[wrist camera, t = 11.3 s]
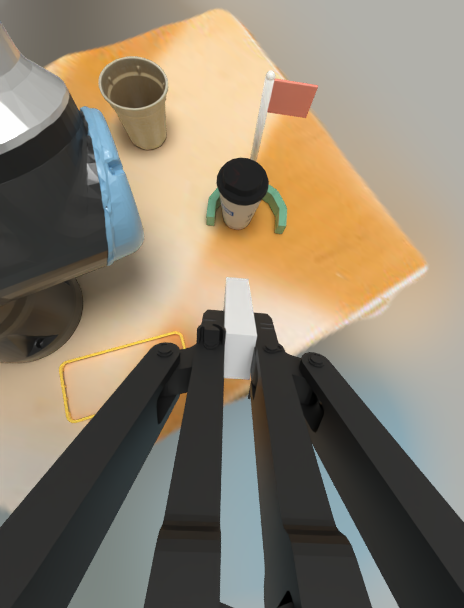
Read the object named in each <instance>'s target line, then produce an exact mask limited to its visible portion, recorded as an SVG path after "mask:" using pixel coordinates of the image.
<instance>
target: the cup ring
mask: <svg viewBox="0 0 464 608" xmlns="http://www.w3.org/2000/svg"><path fill="white" fill-rule="evenodd" d="M262 200H263V201H265V202H266V203H268V204H269V206H270V208H271V209H272V211H273V213H274V215H275V217H276V220H275V233H278V234H282V233H283V231H284V229H285V227H286V219H287V207H286V205H285V203H284V201H283V199H282V198H281V196H280V194H279V192H278V191H277V190H276V189H275V188H273V187H272V186H270V185H269V186H268V191H267V193H266V195H265V196H264V198H263V199H262ZM220 204H221V200H220V193H219V190H218V188H217V189H216V190H215V191H214V192H213V193H212V195H211V196H210V197H209V200H208V208H207V216H206V218H207V225H212V226H214V223H215V214H216V209H217V208H218V207H219V206H220Z"/></svg>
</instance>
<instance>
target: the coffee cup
mask: <svg viewBox="0 0 464 608" xmlns="http://www.w3.org/2000/svg"><path fill="white" fill-rule="evenodd" d="M268 186H269V181H268V177H267V174H266V171H265V170H264V169H263V167H262V166H261V165H260V164H258V163H257V162H256V161H253V160H251V159H248V158H236V159H232V160H230V161H228V162H227V163H226V164H225V165H224V166H223V167H222V168H221V169H220V171H219V173H218V175H217V187H218V190H219V193H220V200H221V207H222V214H223V219H224V222H225V223H226V225H227V226H228V227H230V228H232V229H237V230H239V229H243V228H245V227H246V226H247V225H248V224H249V223H250V221H251V219H252V217H253V215H254V213H255V211H256V209H257V207H258V205H259V204H260V202H261V200H262V199H263V198H264V196H265V195H266V193H267V191H268Z"/></svg>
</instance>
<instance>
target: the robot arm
mask: <svg viewBox="0 0 464 608" xmlns="http://www.w3.org/2000/svg"><path fill="white" fill-rule="evenodd" d="M122 167H123V166H122V163H121V161H120V158H119V155H118V151H117V149H116V146H115V143H114V140H113V138H112V135H111V133H110V130H109V128H108V125H107V123H106V120H105V118H104V116H103V114H102V113H101V112H100V111H99V110H97V109H95V108H88V107H86V106H84V107H82V108H80V111H79V110H78V108H77V106H76V104H75V102H74V100H73V98H72V97H71V95H70V93H69V91H68V89H67V87H66V85H65V83H64V82H63V81H62V80H61V79H60V78H59V77H58V76H56V75H55V74H53V73H51V72H49V71H48V70H46V69H44V68H43V67H41V66H39V65H37V64H36V63H34V62H32V61H30V60H29V59H27V58H25V57H24V56H23V55H22V54H21V52H20V51H19V50H18V49H17V48H16V46H15V44H14V43H13V41H12V39H11V38H10V36H9V34H8V33H7V31H6V29H5V28H4V26H3V24H2V23H1V21H0V362H1V363H21V362H29V361H34V360H37V359H40V358H43V357H45V356H47V355H49V354H51V353H53V352H54V351H56V350H57V349H59V348H60V347H61V346H62V345H63V344H64V343H65V342H66V341H67V340H68V339H69V338H70V337H71V335H72V334H73V332H74V331H75V329H76V327H77V325H78V323H79V321H80V318H81V314H82V307H83V299H82V293H81V289H80V287H79V284H78V282H77V281H76V279H75V277H78V276H80V275H83V274H86V273H88V272H91V271H94V270H96V269H99V268H101V267H104V266H110V265H112V264H113V262H114V261H116V260H118V259H121V258H123V257H125V256H127V255H129V254H132V253H134V252H136V251H137V250H138V249H139V248H140V246H141V245H142V243H143V240H144V231H143V227H142V223H141V219H140V216H139V213H138V209H137V206H136V203H135V200H134V197H133V194H132V191H131V188H130V185H129V182H128V180H127V177H126V174H125V172H124V171H123V168H122ZM250 374H251V384H250V390H249V395H248V399H250V397H251V406H252V419H253V430H254V442H255V454H256V465H257V478H258V490H259V502H260V514H261V526H262V537H263V549H264V562H265V578H264V604H265V608H372V606H371V603H370V600H369V597H368V593H367V591H366V587H365V584H364V581H363V578H362V574H361V571H360V568H359V565H358V562H357V559H356V556H355V553H354V551H353V548H352V546H351V544H350V542H349V540H348V539H347V537H346V536H345V535H343V534H342V533H341V532H340V531H339V530H338V529H337V527H336V525H335V521H334V518H333V515H332V512H331V508H330V505H329V501H328V498H327V494H326V491H325V487H324V484H323V480H322V477H321V474H320V470H319V467H318V464H317V460H316V456H315V453H314V449H313V446H314V448H315V450H316V452H317V454H318V456H319V457H320V459H321V461H322V463H323V465H324V467H325V469H326V470H327V472H328V474H329V476H330V478H331V480H332V482H333V484H334V486H335V488H336V489H337V491H338V493H339V495H340V497H341V499H342V501H343V503H344V504H345V506H346V508H347V510H348V512H349V514H350V516H351V518H352V519H353V521H354V523H355V525H356V527H357V529H358V531H359V533H360V535H361V536H362V538H363V540H364V542H365V544H366V546H367V547H368V550H369V551H370V553H371V555H372V557H373V559H374V561H375V563H376V565H377V566H378V568H379V570H380V572H381V574H382V576H383V577H384V579H385V581H386V583H387V585H388V587H389V589H390V591H391V593H392V595H393V596H394V598H395V600H396V602H397V604H398V606H399V608H464V522H463V521H462V520H461V519H460V517H459V516H458V515H457V514H456V513H455V511H454V510H453V509H452V508H451V507H450V505H449V504H448V503H447V502H446V501H445V499H444V498H443V497H442V496H441V495H440V493H439V492H438V491H437V490H436V489H435V487H434V486H433V485H432V484H431V483H430V482H429V480H428V479H427V478H426V477H425V476H424V474H423V473H422V472H421V471H420V469H419V468H418V467H417V466H416V465H415V463H414V462H413V461H412V460H411V459H410V457H409V456H408V455H407V454H406V453H405V451H404V450H403V449H402V448H401V447H400V445H399V444H398V443H397V442H396V440H395V439H394V438H393V437H392V436H391V434H390V433H389V432H388V431H387V430H386V429H385V427H384V426H383V425H382V424H381V423H380V421H379V420H378V419H377V418H376V416H375V415H374V414H373V413H372V412H371V411H370V409H369V408H368V407H367V406H366V405H365V403H364V402H363V401H362V400H361V398H360V397H359V396H358V395H357V394H356V393H355V391H354V390H353V389H352V388H351V387H350V385H349V384H348V383H347V382H346V381H345V379H344V378H343V377H342V376H341V375H340V373H339V372H338V371H337V370H336V369H335V367H334V366H333V365H332V364H331V363H330V361H329V360H328V359H327V358H326V357H324V356H322V355H320V354H317V353H312V352H309V353H305V354H304V355H302V358H299V357H295V356H292V355H289V354H287V353H286V352H285V350H284V348H283V346H282V345H280V344H279V343H278V340H277V336H276V333H275V329H274V325H273V321H272V318H271V317H270V316H269V315H268V314H263V313H253V306H252V300H251V293H250V287H249V281H248V279H242V278H230V277H226V287H225V298H224V309H223V311H218V310H207V311H206V312H205V313H204V314H203V319H202V324H201V325H200V326H199V327H198V328H197V343H196V344H195V345H194V346H192V347H190V348H186V349H179V347H178V346H177V345H175V344H173V343H166V342H165V343H159V344H157V345H155V346H153V347H152V348H151V349H150V350H149V352H148V353H147V354H146V355H145V356H144V357H143V359H142V360H141V361H140V362H139V363H138V365H137V366H136V367H135V368H134V369H133V370H132V372H131V373H130V374H129V375H128V376H127V378H126V379H125V380H124V381H123V382H122V384H121V385H120V386H119V387H118V388H117V389H116V391H115V392H114V393H113V394H112V395H111V397H110V398H109V399H108V400H107V401H106V403H105V404H104V405H103V406H102V407H101V408H100V410H99V411H98V412H97V413H96V414H95V416H94V417H93V418H92V419H91V420H90V422H89V423H88V424H87V425H86V426H85V427H84V429H83V430H82V431H81V432H80V433H79V435H78V436H77V437H76V438H75V439H74V441H73V442H72V443H71V444H70V445H69V446H68V448H67V449H66V450H65V451H64V452H63V454H62V455H61V456H60V457H59V458H58V459H57V461H56V462H55V463H54V464H53V465H52V467H51V468H50V469H49V470H48V471H47V473H46V474H45V475H44V476H43V477H42V478H41V480H40V481H39V482H38V483H37V484H36V486H35V487H34V488H33V489H32V490H31V492H30V493H29V494H28V495H27V496H26V497H25V499H24V500H23V501H22V502H21V503H20V505H19V506H18V507H17V508H16V509H15V511H14V512H13V513H12V514H11V515H10V516H9V518H8V519H7V520H6V521H5V522H4V524H3V525H2V526H1V527H0V608H67V606H68V605H69V603H70V601H71V599H72V597H73V595H74V593H75V591H76V590H77V588H78V586H79V584H80V582H81V580H82V578H83V576H84V575H85V572H86V571H87V569H88V567H89V565H90V563H91V561H92V559H93V558H94V556H95V554H96V552H97V550H98V548H99V546H100V544H101V543H102V541H103V539H104V537H105V535H106V533H107V531H108V530H109V528H110V526H111V524H112V522H113V520H114V518H115V516H116V515H117V513H118V511H119V509H120V507H121V505H122V503H123V501H124V500H125V498H126V496H127V494H128V492H129V490H130V488H131V486H132V485H133V483H134V481H135V479H136V477H137V475H138V473H139V472H140V470H141V468H142V466H143V464H144V462H145V460H146V458H147V457H148V455H149V453H150V451H151V449H152V447H153V445H154V443H155V442H156V440H157V438H158V436H159V434H160V432H161V430H162V428H163V427H164V425H165V423H166V421H167V419H168V417H169V415H170V413H171V412H172V410H173V408H174V406H175V404H176V402H177V400H178V398H179V396H180V394H182V393H187V392H188V393H187V398H186V403H185V409H184V414H183V419H182V425H181V430H180V436H179V441H178V446H177V452H176V457H175V462H174V468H173V473H172V479H171V484H170V489H169V495H168V500H167V506H166V511H165V516H164V521H163V525H162V527H161V529H160V531H159V535H158V538H157V543H156V548H155V552H154V558H153V563H152V568H151V573H150V578H149V584H148V589H147V593H146V599H145V604H144V608H233V607H230V606H228V605H226V604H223V603H221V602H220V563H221V559H220V558H221V531H220V500H221V463H222V462H221V461H222V427H223V391H224V378H233V379H248V380H249V379H250ZM312 444H313V446H312Z"/></svg>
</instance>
